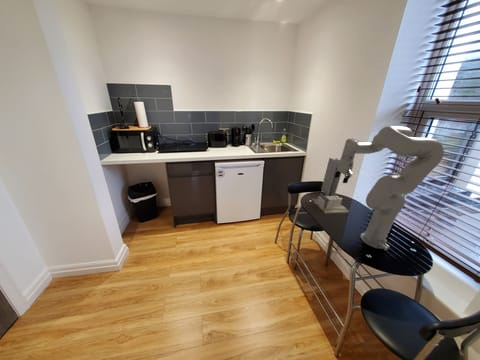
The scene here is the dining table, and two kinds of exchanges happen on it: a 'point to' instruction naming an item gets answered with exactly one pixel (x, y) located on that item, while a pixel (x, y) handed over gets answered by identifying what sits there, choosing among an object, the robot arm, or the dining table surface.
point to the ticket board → (332, 208)
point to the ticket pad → (325, 201)
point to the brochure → (330, 178)
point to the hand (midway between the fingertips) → (340, 180)
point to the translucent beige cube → (336, 201)
